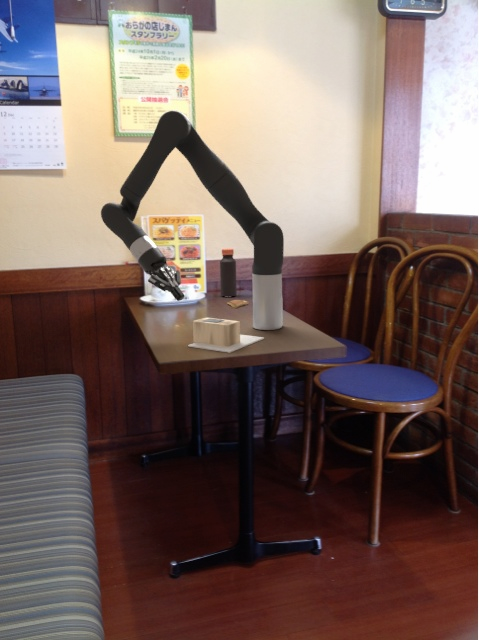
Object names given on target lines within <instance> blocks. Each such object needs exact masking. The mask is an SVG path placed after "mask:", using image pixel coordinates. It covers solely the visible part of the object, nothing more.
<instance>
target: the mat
mask: <svg viewBox="0 0 479 640" xmlns="http://www.w3.org/2000/svg"><path fill="white" fill-rule="evenodd" d="M264 339H265V337H263V336H255V335H248V334H247V335H246V334H241V333H240V342H239V343H237V344H234V345H231V346H229V347H227V346H220V345H213V344H206V343H200V342H193V343H190V344H188V345H187V347H190V348H196V349H201V350H209V351H216V352H222V353H228V354H230V353H233V352H235V351H238V350H240V349H243V348H245V347H247V346H250V345H252V344H255V343H257V342H259V341H262V340H264Z"/></svg>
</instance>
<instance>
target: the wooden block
mask: <svg viewBox="0 0 479 640" xmlns="http://www.w3.org/2000/svg"><path fill="white" fill-rule="evenodd" d="M192 332H193V335H192V337H193V343H196V342H200V343H206V344H213V345H220V346H227V347H229V346H231V345H234V344H237V343H239V342H240V334H241V321H240V320H239V321H238V320H232V319H222V318H213V317H202V318H199V319H195V320H192Z"/></svg>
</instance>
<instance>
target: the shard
mask: <svg viewBox="0 0 479 640" xmlns="http://www.w3.org/2000/svg"><path fill="white" fill-rule="evenodd" d="M226 303H227V305H228V304H229V305H228V306H231V307H232V308H234V309H239V308H240V307H243V306H246V305H248V304H250V302H249V301H247V300H241V299H234V300H230V301H228V302H226Z"/></svg>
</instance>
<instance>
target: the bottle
mask: <svg viewBox="0 0 479 640" xmlns="http://www.w3.org/2000/svg"><path fill="white" fill-rule="evenodd" d="M221 256H222V258H221V260H220V261H219V275H220V280H219V281H220V296H221V297H222V296H235V297H237V296H238V295H237V294H238V293H237V261H236V259H235V258H234V248H222V249H221Z"/></svg>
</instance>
